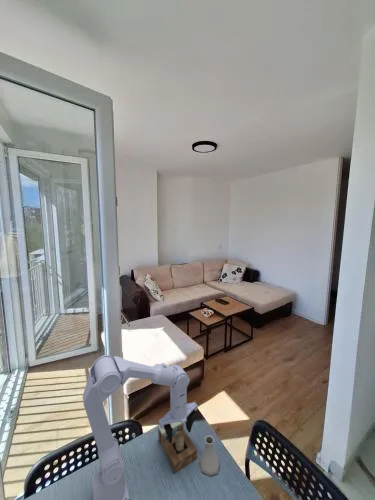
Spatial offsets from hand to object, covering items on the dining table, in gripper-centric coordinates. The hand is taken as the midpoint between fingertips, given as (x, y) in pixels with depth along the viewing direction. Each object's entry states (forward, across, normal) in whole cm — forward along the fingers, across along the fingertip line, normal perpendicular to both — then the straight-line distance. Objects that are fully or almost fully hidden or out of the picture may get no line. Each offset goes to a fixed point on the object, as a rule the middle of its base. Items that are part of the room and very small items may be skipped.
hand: (179, 435), depth 80 cm
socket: (+8, 0, 0) cm, 8 cm away
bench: (+8, 0, +7) cm, 11 cm away
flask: (+8, +7, -8) cm, 14 cm away
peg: (+8, 0, 0) cm, 8 cm away
